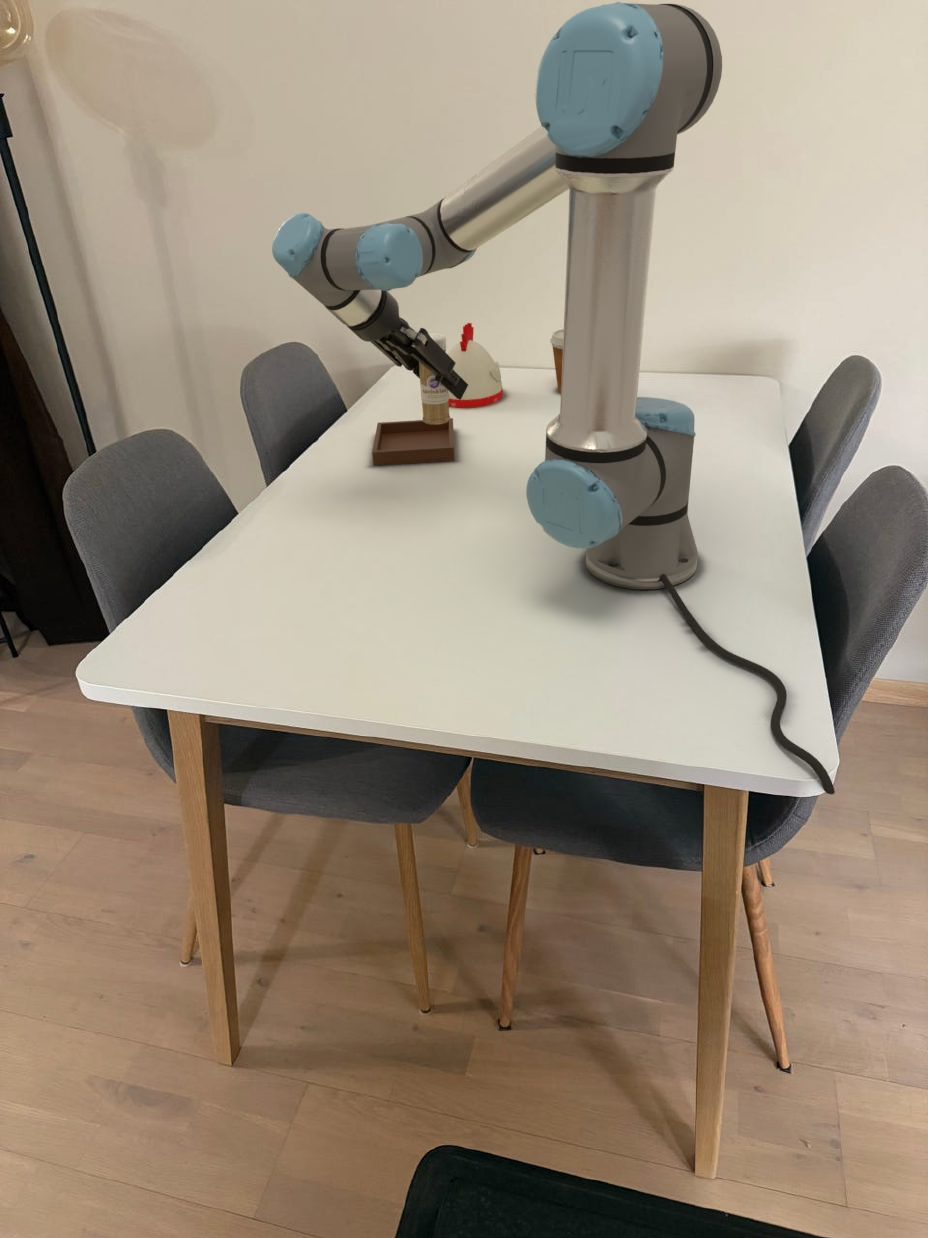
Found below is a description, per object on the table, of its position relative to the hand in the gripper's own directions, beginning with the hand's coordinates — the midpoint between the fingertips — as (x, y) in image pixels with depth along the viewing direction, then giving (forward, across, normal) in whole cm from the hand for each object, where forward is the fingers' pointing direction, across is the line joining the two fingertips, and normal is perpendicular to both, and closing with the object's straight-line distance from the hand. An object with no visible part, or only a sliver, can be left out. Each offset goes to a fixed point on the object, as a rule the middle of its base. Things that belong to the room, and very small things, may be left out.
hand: (451, 388), depth 146 cm
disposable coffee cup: (+47, +14, -24) cm, 55 cm away
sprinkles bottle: (0, 0, +6) cm, 6 cm away
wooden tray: (+16, +18, +6) cm, 25 cm away
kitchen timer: (+36, +30, -13) cm, 48 cm away
